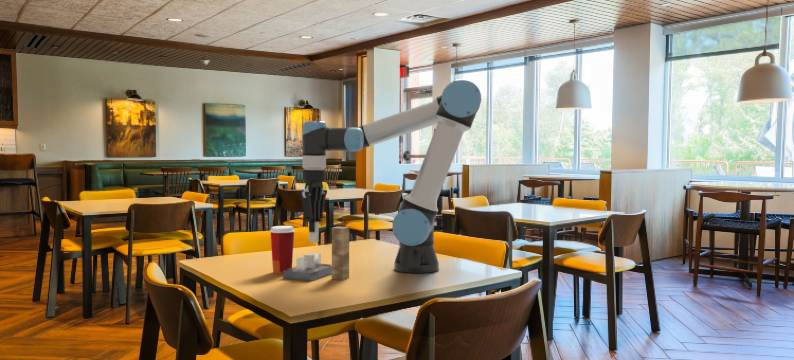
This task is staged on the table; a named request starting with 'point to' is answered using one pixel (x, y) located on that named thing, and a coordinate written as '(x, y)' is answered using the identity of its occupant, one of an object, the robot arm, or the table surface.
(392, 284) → the table surface
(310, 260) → the breaker paddle
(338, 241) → the mottled brown post
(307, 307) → the table surface
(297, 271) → the breaker board
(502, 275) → the table surface
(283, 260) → the coffee cup
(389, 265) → the table surface
